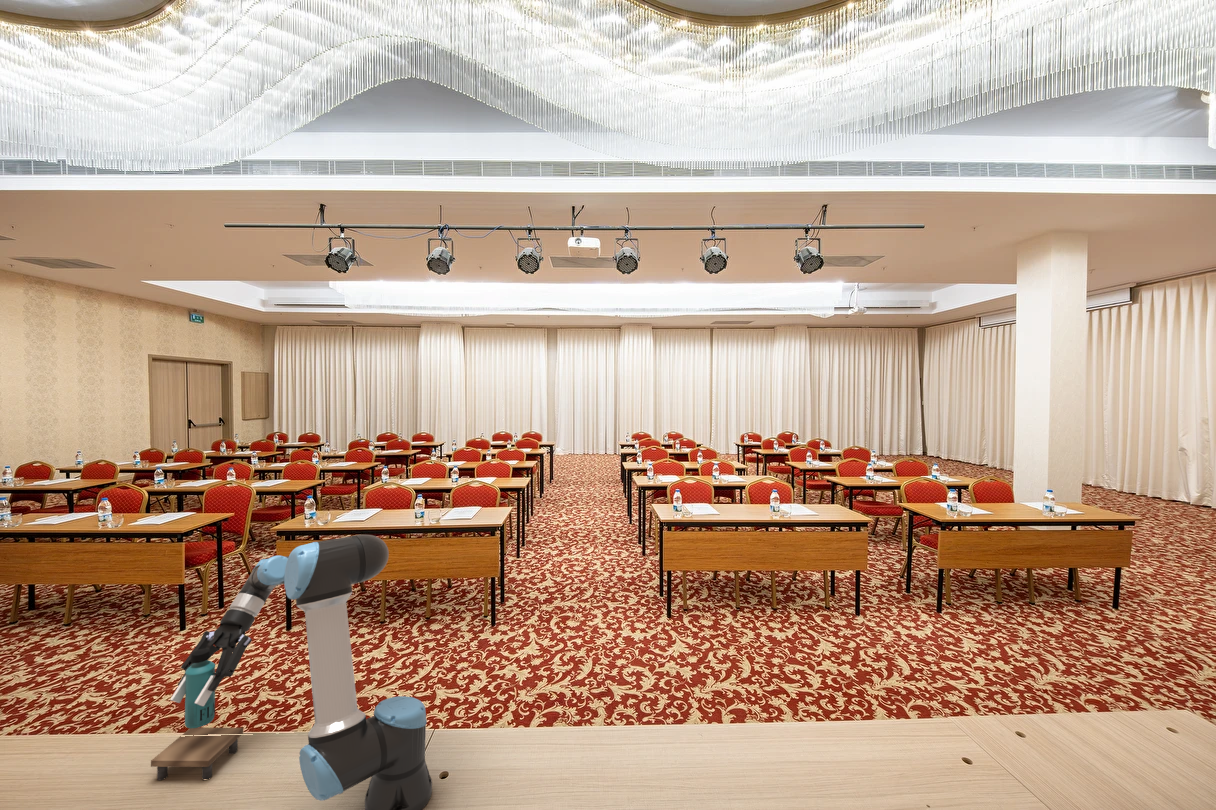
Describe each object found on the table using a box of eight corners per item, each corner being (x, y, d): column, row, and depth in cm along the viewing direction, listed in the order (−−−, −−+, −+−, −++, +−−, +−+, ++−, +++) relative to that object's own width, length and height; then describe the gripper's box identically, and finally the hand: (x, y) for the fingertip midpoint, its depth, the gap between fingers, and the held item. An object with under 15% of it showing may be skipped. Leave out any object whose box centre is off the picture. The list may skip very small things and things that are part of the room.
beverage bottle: (198, 736, 133) (199, 658, 132) (176, 732, 134) (177, 655, 134) (221, 721, 139) (223, 646, 139) (201, 717, 141) (202, 643, 140)
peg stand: (242, 747, 143) (243, 727, 143) (208, 782, 130) (208, 760, 130) (190, 747, 143) (190, 727, 143) (150, 782, 130) (150, 760, 130)
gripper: (279, 622, 150) (229, 711, 134) (220, 615, 153) (164, 702, 137) (264, 611, 145) (210, 703, 129) (204, 604, 148) (143, 694, 132)
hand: (187, 702), depth 133 cm, fingers closed on beverage bottle, 6 cm apart
